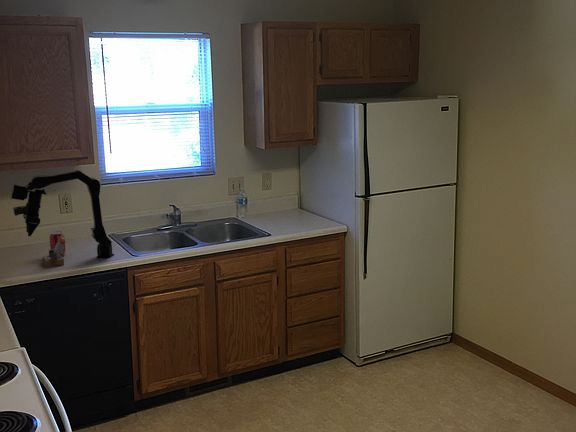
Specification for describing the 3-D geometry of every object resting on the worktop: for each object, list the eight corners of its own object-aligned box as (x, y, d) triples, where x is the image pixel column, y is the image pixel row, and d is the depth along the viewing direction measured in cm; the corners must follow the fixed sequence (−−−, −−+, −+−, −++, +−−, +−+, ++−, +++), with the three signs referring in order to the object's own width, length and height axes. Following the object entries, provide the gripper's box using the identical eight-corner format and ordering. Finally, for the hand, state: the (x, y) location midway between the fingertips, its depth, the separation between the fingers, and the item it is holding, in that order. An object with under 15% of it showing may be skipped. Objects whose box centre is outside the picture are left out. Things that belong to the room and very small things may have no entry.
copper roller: (55, 255, 312) (64, 237, 313) (57, 258, 307) (66, 240, 307) (50, 253, 311) (59, 235, 311) (52, 256, 306) (61, 238, 306)
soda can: (67, 253, 327) (65, 230, 324) (63, 257, 320) (61, 234, 317) (53, 254, 327) (51, 231, 324) (49, 257, 320) (47, 234, 317)
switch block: (60, 259, 316) (59, 248, 314) (64, 264, 307) (63, 252, 306) (43, 262, 312) (42, 250, 311) (46, 267, 303) (45, 255, 302)
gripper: (14, 196, 306) (9, 227, 308) (17, 202, 290) (11, 236, 291) (39, 199, 311) (33, 231, 313) (42, 206, 295) (37, 239, 296)
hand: (28, 234), depth 303 cm, fingers open, 9 cm apart
